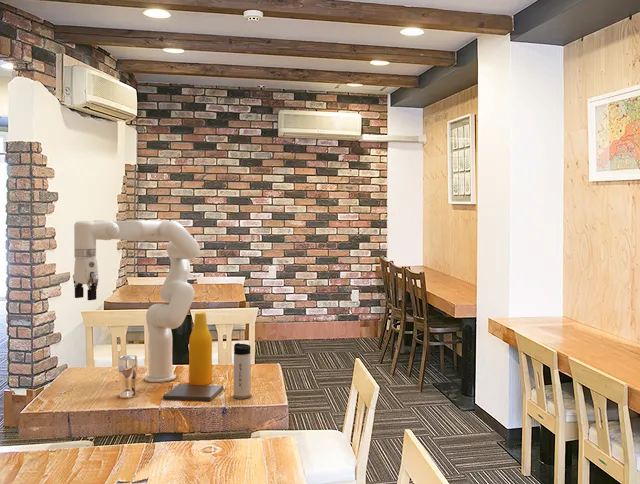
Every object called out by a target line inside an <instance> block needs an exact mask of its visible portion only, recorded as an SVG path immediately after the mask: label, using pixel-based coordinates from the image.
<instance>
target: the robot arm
mask: <svg viewBox="0 0 640 484" xmlns="http://www.w3.org/2000/svg"><path fill="white" fill-rule="evenodd" d="M73 226H74V227H73V232H74V234H73V238H74V240H73V241H74V242H73V243H74V244H73V245H74V247H73V248H74V251H73V252H74V253H73V254H74V255H73V256H74V257H73V258H74V265H73V266H74V267H73V269H74V270H73V275H72V279H73V287H74V298H75V299H81V298H84V285H86V286H87V294H86V295H87V297H86V298H87V301H95V300H97V289H98V285H99V279H100V278H99V267H98V266H99V265H98V260H97V240H99V241H100V240H102V241H111V240H119V241H120V240H122V241H128V242H129V241H130V242H132V241H133V242H168V243H167V244H166V253H167V256H168V258H169V261H170V268H169V270H168V273H167V275H166V277H165V279H164V281H163V284H162V286H161V288H160V291H159V297H160V298H161V300H162V301H164V302H166V303H169V304H166V303H153V304H152V305H151V306H149V307H148V309H147V311H146V314H145V320H146V325H147V333H148V334H147V335H148V336H147V337H148V374H146V375H145V376H144V380H145V382H149V383H164V382H170V381H173V380H175V379H177V374H176V373H174V372H173V369H174V368H175V365H174V364H173V331H172V330H175V329H178V328H179V327H180V326H182V324H183V323H184V321H185V319H186V317H187V315H188V313H189V310H190V309H191V306H192V303H193V300H194V298H195V289H194V286H193V285H192V284H191V283H189V282H188V279H189V277H190V274H191V263H190V260H194V259H196V258H197V257H198V256H199V254H200V251H201V249H200V248H201V247H200V244H199V242H198V241H197V240H196V239H195V238H194V237H193V236H192V234H191V233H190V232H189V231H188V229H186V228H185V227H184V225H182V224H181V223H180V222H178V221H175V220H155V219H154V220H152V219H151V220H149V219H130V220H129V219H128V220H104V219H103V220H101V219H100V220H91V221H90V220H78V221H75V223H74V225H73Z"/></svg>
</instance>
